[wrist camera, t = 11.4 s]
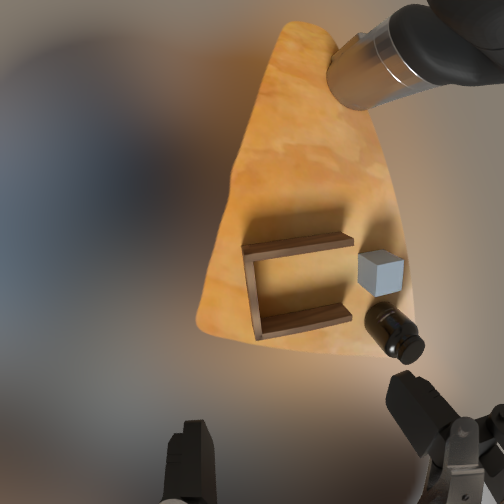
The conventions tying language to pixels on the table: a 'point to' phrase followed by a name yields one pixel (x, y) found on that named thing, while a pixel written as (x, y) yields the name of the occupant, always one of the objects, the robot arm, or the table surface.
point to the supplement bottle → (394, 332)
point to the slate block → (380, 272)
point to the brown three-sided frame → (300, 319)
